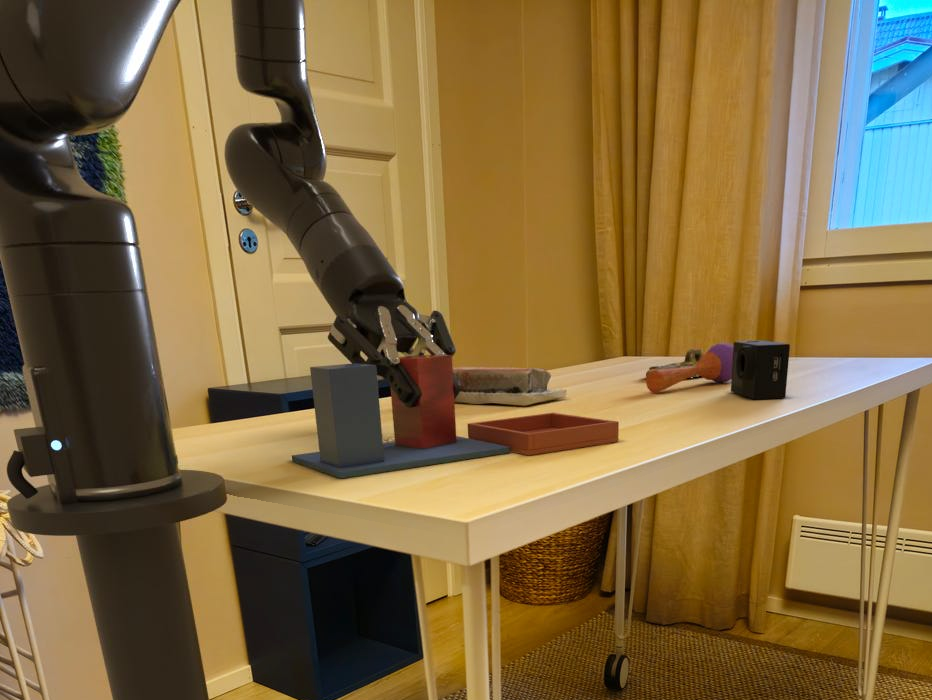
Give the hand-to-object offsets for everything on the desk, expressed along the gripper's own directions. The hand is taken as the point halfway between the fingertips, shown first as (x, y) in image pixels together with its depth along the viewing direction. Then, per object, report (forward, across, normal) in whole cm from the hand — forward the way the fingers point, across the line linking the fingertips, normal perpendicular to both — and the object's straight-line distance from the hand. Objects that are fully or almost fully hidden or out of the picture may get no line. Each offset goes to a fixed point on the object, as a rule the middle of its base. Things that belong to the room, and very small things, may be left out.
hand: (435, 398), depth 84 cm
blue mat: (+3, -4, +4) cm, 7 cm away
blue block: (+3, -11, +3) cm, 12 cm away
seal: (-12, +75, +19) cm, 78 cm away
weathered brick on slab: (-15, +35, +22) cm, 44 cm away
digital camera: (+6, +55, +1) cm, 55 cm away
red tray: (+7, +10, 0) cm, 12 cm away
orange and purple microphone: (-3, +62, +11) cm, 63 cm away
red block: (+2, 0, +5) cm, 5 cm away
